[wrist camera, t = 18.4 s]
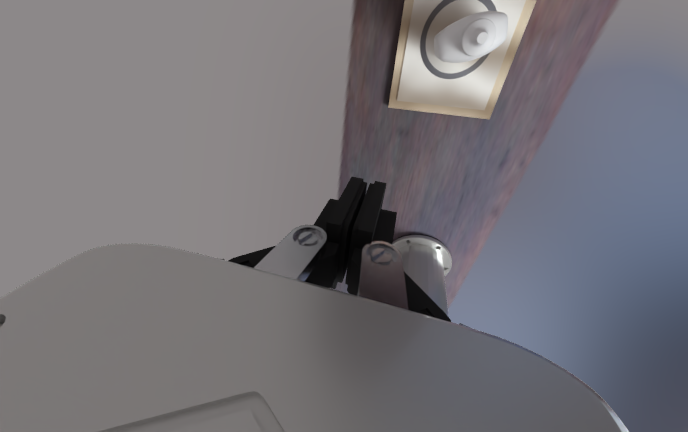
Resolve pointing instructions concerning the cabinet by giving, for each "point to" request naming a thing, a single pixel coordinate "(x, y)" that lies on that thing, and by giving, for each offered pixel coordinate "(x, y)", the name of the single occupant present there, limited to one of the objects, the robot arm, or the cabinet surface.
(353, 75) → the cabinet surface
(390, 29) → the cabinet surface
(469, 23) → the eye dropper bottle
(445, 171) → the cabinet surface
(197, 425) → the robot arm
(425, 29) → the cream flat rectangular panel
